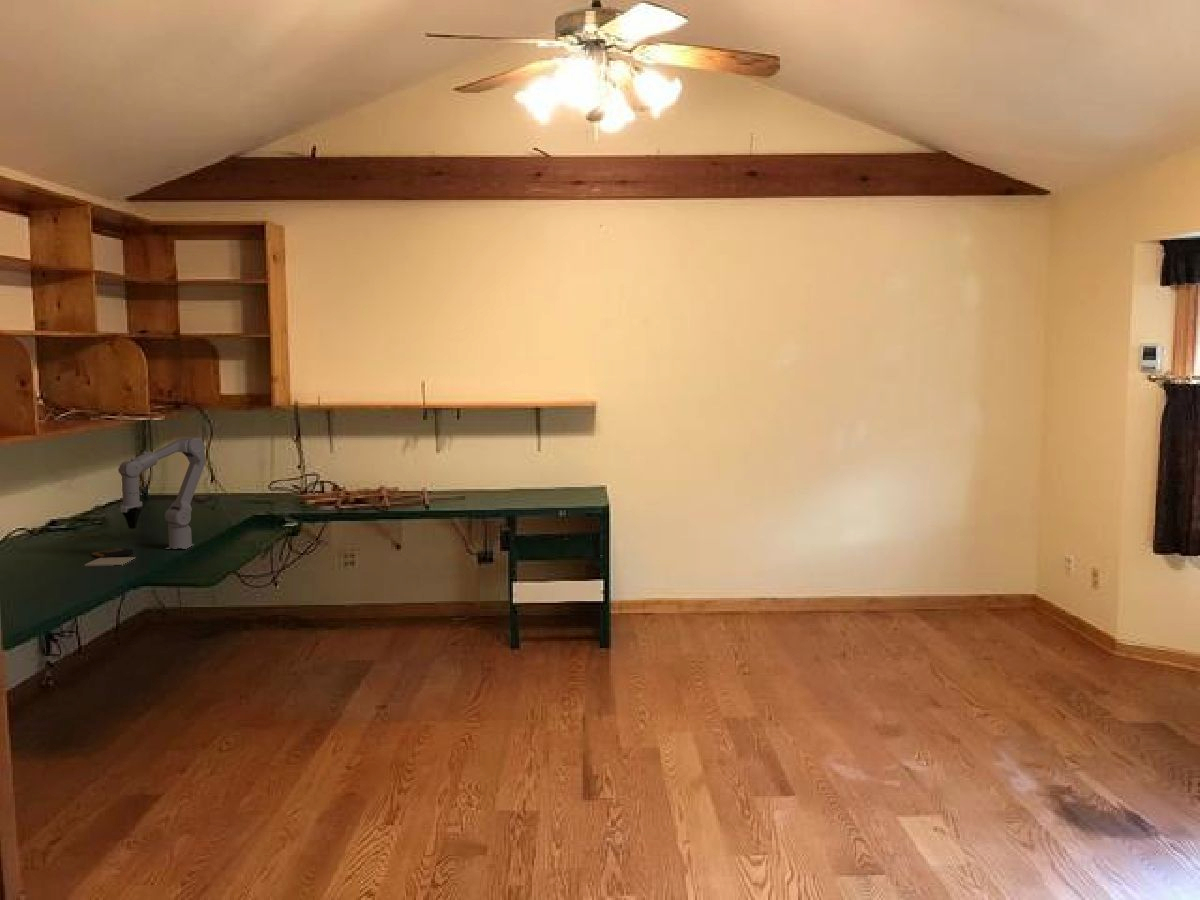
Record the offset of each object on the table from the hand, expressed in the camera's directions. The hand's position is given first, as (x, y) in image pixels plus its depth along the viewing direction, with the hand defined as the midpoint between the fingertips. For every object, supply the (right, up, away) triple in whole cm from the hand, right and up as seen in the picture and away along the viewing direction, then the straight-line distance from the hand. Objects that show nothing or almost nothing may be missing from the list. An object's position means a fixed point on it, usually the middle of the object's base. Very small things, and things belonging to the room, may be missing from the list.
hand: (132, 528), depth 362 cm
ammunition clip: (-4, -9, -3) cm, 10 cm away
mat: (-2, -12, -12) cm, 17 cm away
